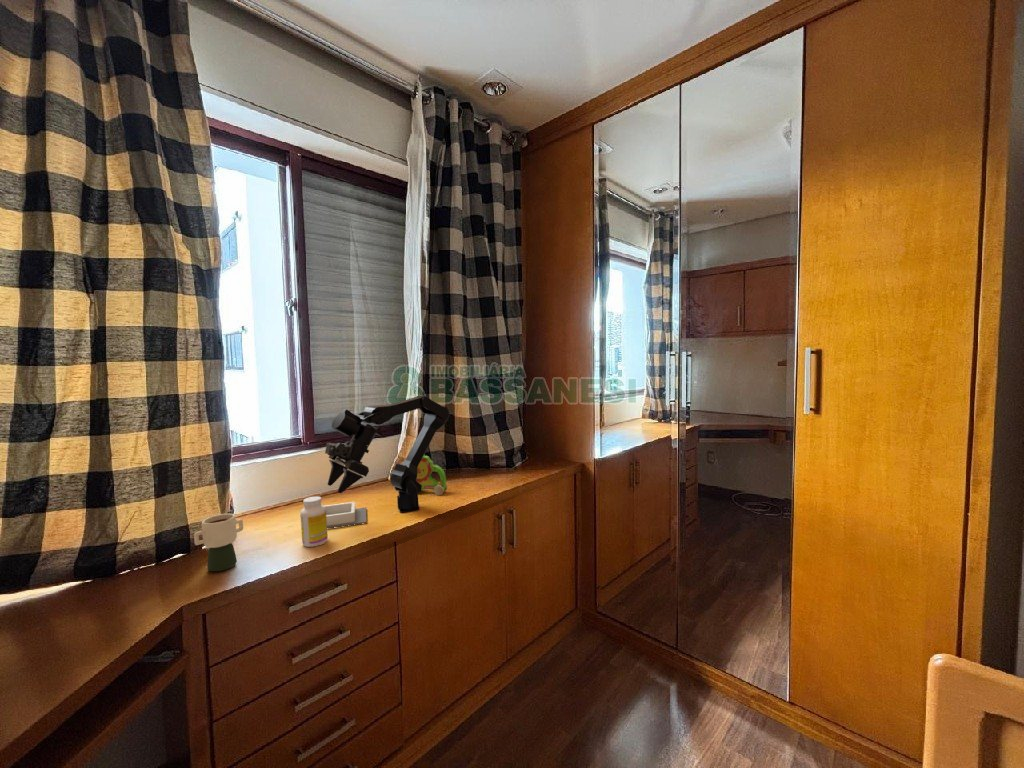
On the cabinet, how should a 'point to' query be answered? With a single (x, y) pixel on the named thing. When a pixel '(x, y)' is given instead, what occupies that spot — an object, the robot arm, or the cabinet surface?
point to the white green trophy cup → (219, 540)
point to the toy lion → (425, 477)
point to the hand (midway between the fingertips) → (333, 488)
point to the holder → (344, 515)
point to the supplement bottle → (313, 522)
